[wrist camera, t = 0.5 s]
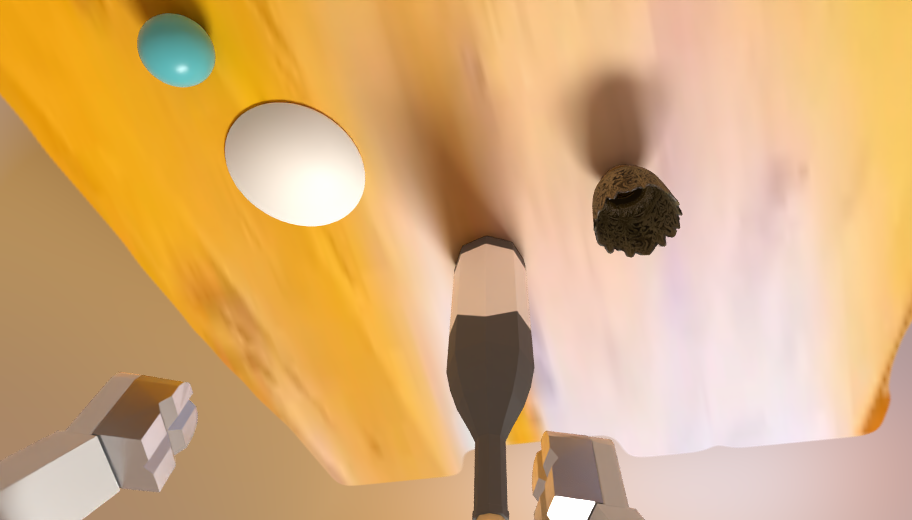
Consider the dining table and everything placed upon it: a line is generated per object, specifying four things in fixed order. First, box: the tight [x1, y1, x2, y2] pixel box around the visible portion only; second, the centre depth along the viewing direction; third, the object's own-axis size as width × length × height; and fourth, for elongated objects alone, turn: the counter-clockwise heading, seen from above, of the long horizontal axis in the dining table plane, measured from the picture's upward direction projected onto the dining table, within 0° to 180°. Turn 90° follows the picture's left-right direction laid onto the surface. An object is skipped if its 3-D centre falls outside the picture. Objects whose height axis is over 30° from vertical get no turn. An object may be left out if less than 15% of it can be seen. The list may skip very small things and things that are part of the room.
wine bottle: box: [447, 236, 534, 520], centre depth 47 cm, size 8×8×30 cm
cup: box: [592, 165, 682, 257], centre depth 47 cm, size 8×7×8 cm
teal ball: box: [137, 13, 215, 87], centre depth 41 cm, size 6×6×6 cm
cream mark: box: [225, 102, 365, 226], centre depth 51 cm, size 14×14×1 cm
